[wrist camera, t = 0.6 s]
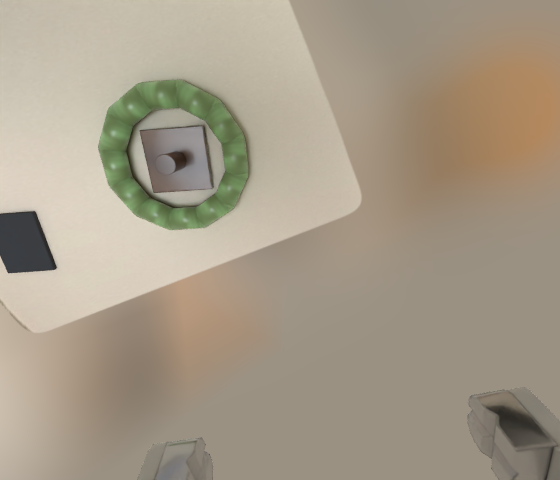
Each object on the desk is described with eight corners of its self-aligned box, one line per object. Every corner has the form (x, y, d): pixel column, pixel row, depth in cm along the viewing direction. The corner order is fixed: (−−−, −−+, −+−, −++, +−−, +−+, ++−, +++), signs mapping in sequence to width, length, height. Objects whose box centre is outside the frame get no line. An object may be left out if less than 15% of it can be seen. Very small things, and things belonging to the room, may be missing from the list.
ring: (90, 88, 36) (75, 85, 34) (239, 77, 36) (236, 73, 33) (128, 229, 43) (118, 236, 40) (254, 220, 43) (253, 227, 40)
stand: (142, 130, 38) (122, 130, 33) (204, 125, 38) (193, 125, 33) (156, 191, 41) (139, 201, 36) (213, 187, 41) (204, 196, 36)
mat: (-15, 214, 42) (-18, 216, 41) (35, 211, 42) (31, 212, 41) (11, 271, 45) (7, 273, 44) (56, 268, 45) (54, 270, 44)
